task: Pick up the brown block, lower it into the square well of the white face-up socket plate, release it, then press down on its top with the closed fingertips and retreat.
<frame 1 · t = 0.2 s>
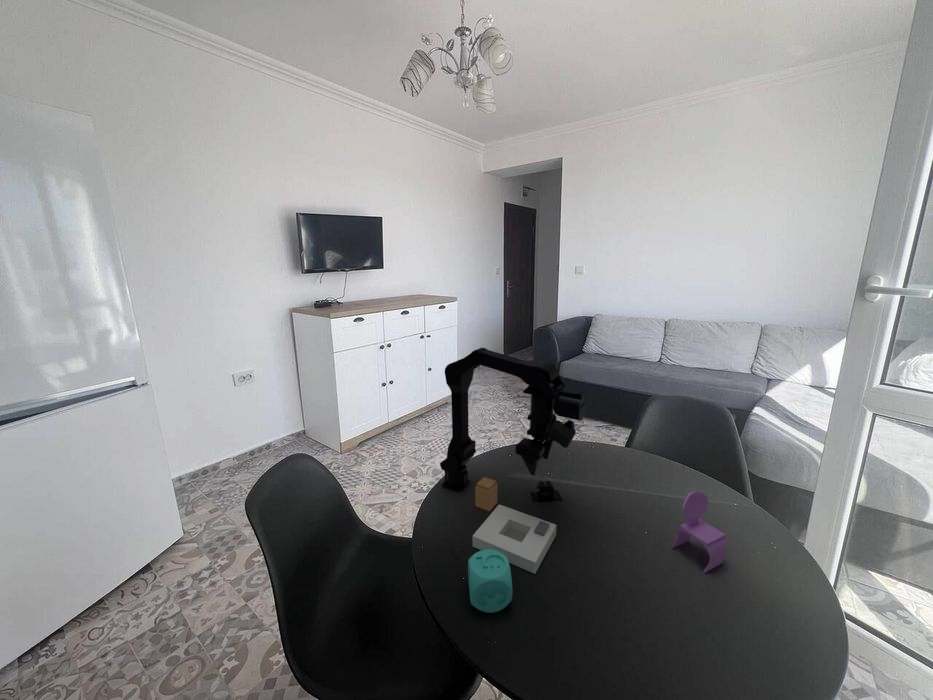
hand: (539, 466, 99), 14 cm above the table, fingers open, 9 cm apart
brown block: (486, 504, 107), on the table
socket plate: (515, 540, 93), on the table
toy chair: (696, 557, 87), on the table
decorative dice: (489, 596, 78), on the table
black angular piece: (545, 498, 110), on the table
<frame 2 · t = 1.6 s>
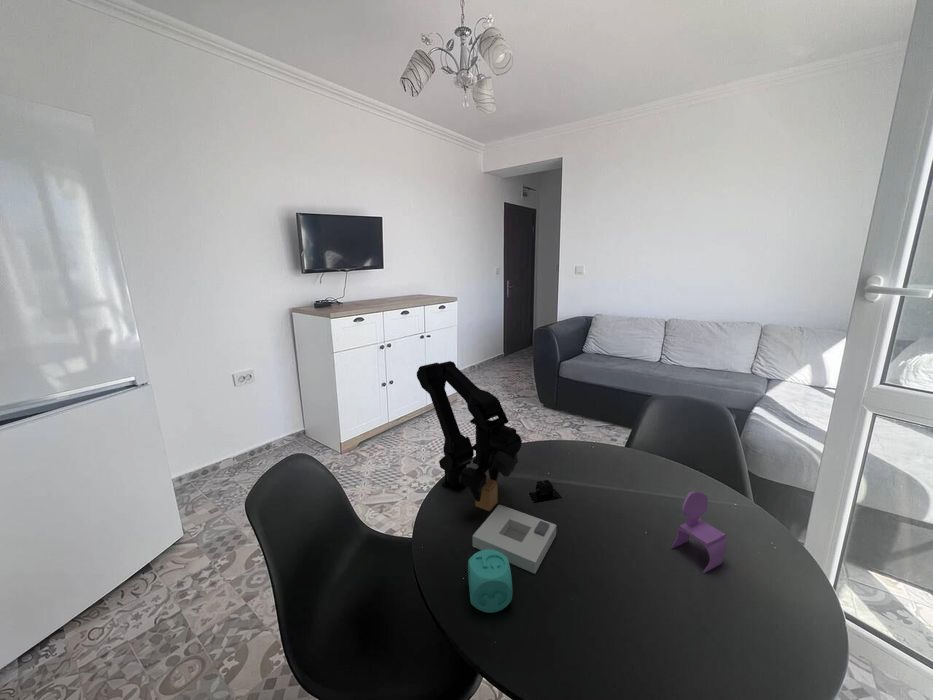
hand: (486, 492, 106), 4 cm above the table, fingers open, 9 cm apart
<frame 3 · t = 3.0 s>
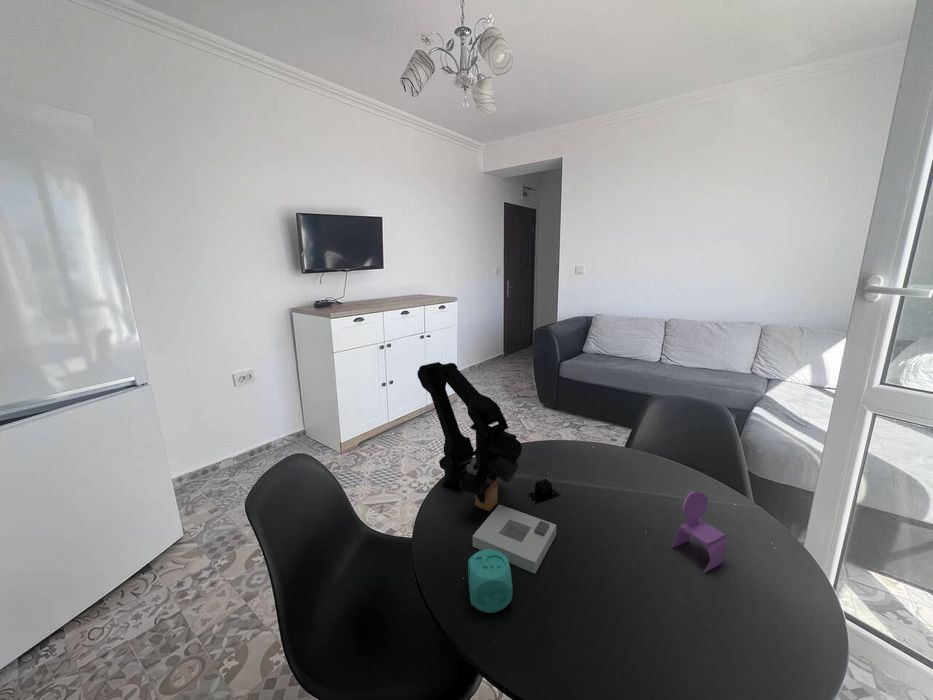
hand: (486, 497, 106), 2 cm above the table, fingers closed on brown block, 5 cm apart
brown block: (486, 504, 107), on the table, touching gripper
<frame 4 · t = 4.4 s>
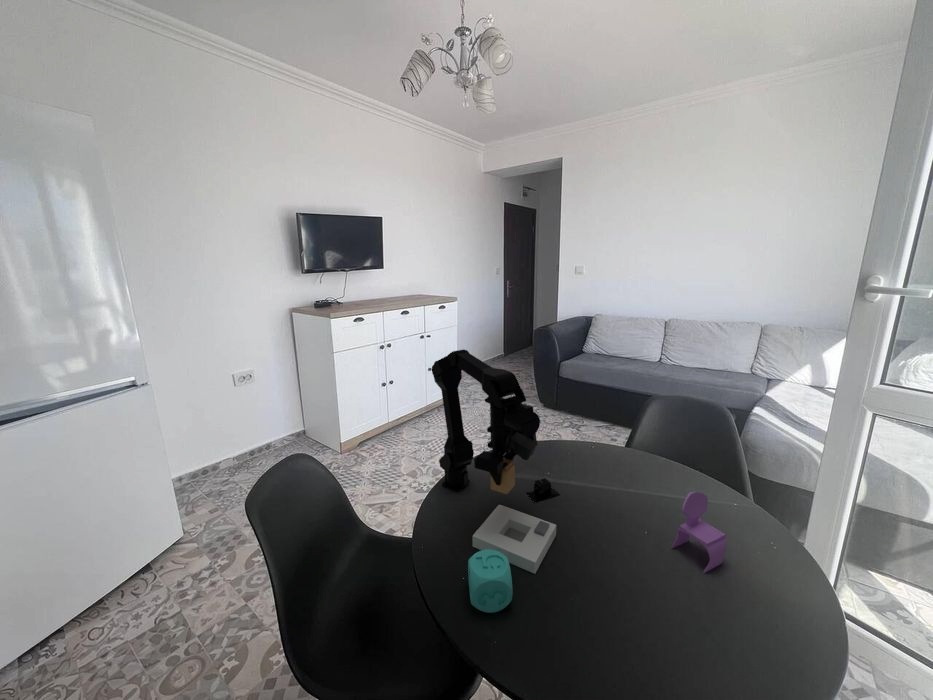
hand: (502, 480, 96), 13 cm above the table, fingers closed on brown block, 5 cm apart
brown block: (502, 487, 96), point 11 cm above the table, touching gripper
when the fingers open (3 cm above the table, at t = 6.3 s): brown block stays where it is, resting on socket plate.
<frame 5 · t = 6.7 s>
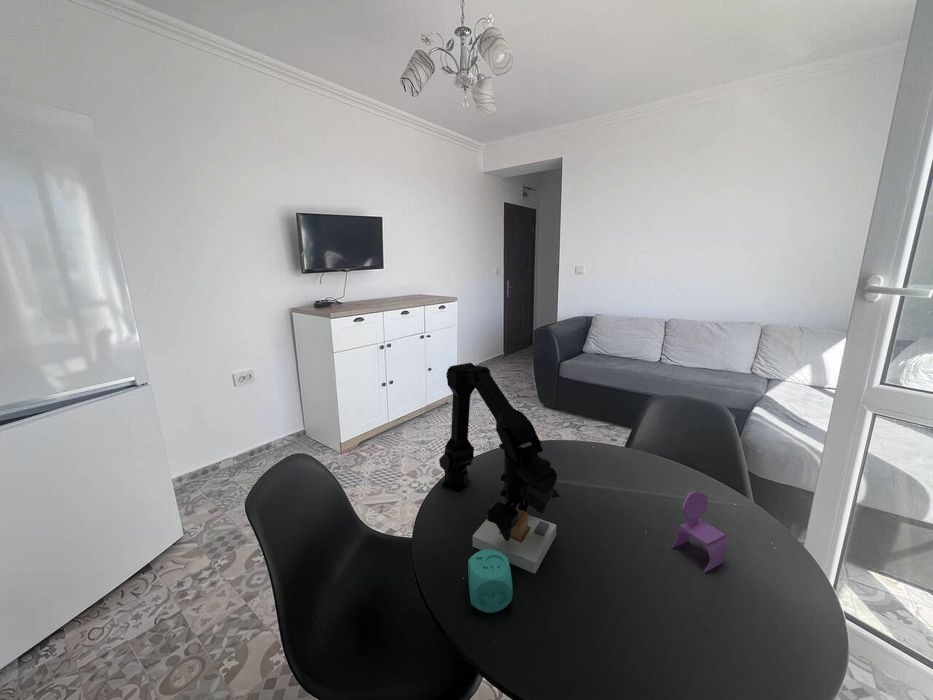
hand: (515, 528, 92), 3 cm above the table, fingers open, 9 cm apart
brown block: (515, 539, 93), resting on socket plate
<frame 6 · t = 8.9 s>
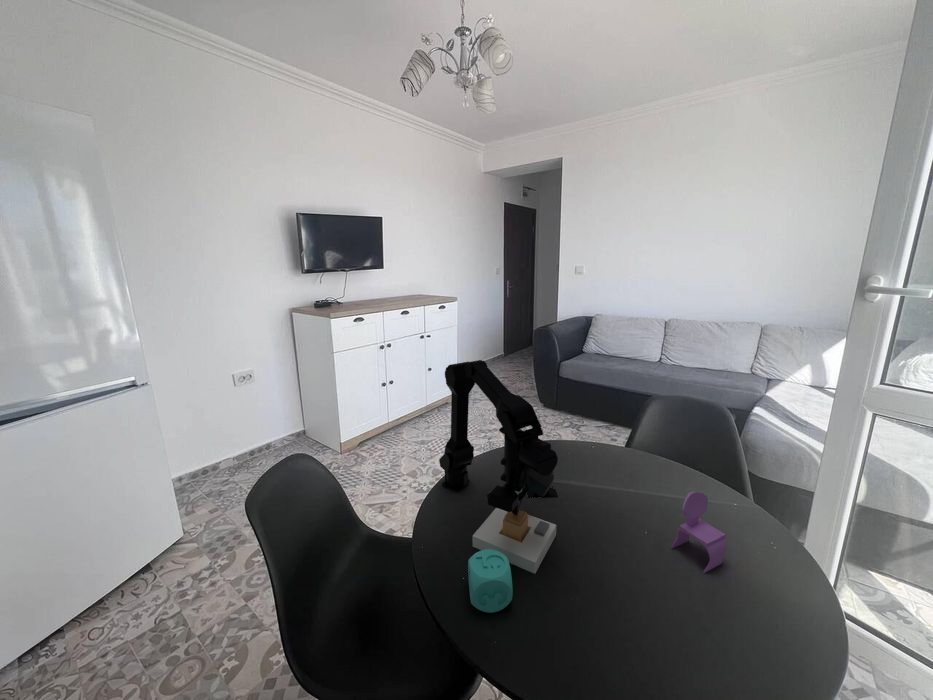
hand: (515, 513, 91), 8 cm above the table, fingers closed
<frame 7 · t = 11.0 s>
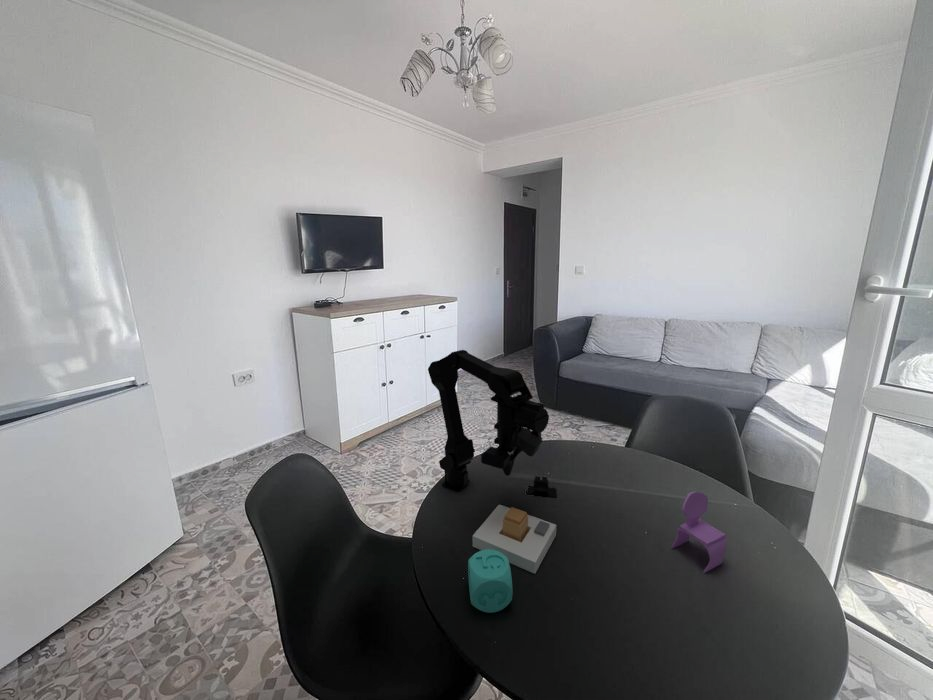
hand: (507, 474, 100), 12 cm above the table, fingers closed
at the end: brown block 0.0 cm off-centre on the socket plate, point 0.5 cm above the socket plate's base; brown block tilted 0°; the gripper is holding nothing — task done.
